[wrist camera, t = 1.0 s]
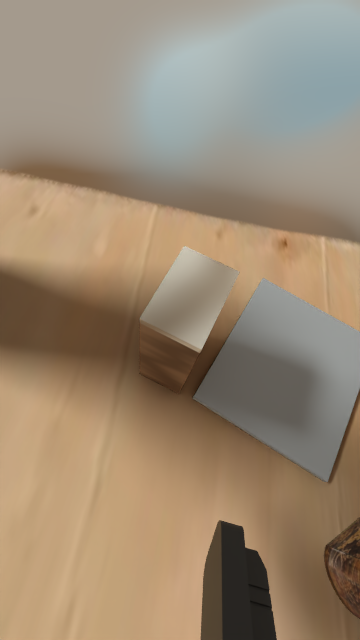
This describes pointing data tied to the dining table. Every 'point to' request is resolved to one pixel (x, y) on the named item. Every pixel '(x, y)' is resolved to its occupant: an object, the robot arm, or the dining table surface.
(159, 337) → the brown rectangular block
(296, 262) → the dining table surface
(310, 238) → the dining table surface
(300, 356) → the felt mat
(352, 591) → the book
